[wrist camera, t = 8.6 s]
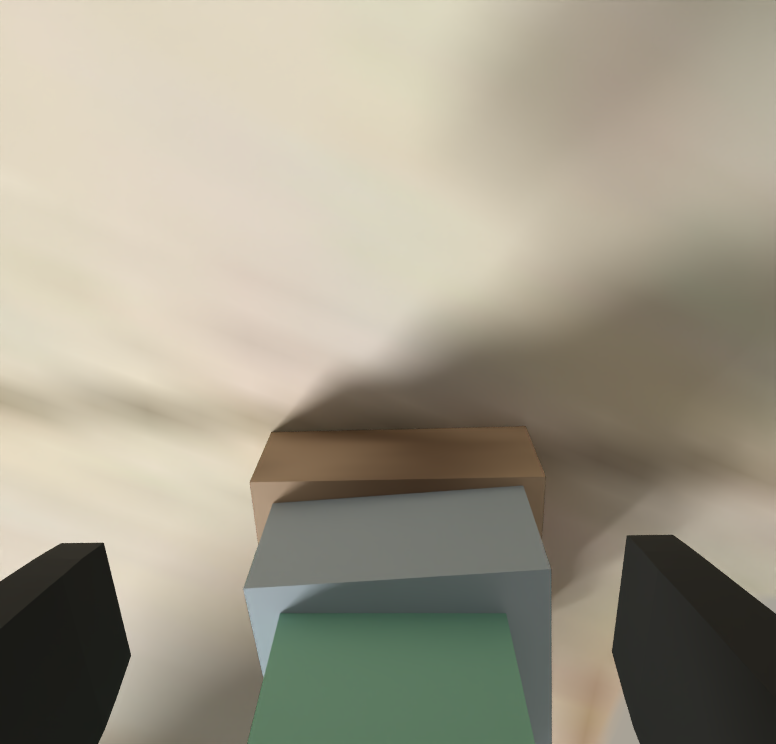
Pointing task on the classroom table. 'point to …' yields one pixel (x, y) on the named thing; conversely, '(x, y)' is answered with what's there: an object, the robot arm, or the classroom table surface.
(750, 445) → the classroom table surface
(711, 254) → the classroom table surface
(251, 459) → the classroom table surface
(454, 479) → the walnut base block
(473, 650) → the light green block
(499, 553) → the slate-grey block
